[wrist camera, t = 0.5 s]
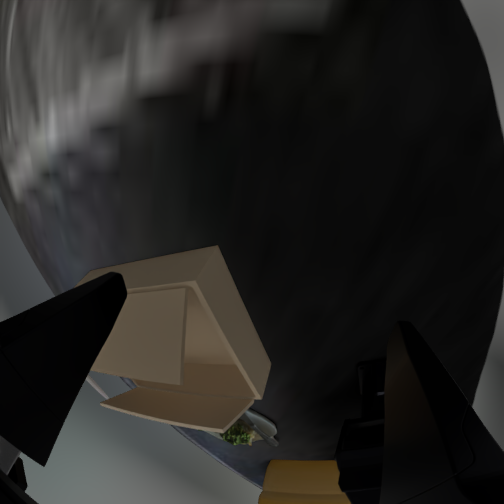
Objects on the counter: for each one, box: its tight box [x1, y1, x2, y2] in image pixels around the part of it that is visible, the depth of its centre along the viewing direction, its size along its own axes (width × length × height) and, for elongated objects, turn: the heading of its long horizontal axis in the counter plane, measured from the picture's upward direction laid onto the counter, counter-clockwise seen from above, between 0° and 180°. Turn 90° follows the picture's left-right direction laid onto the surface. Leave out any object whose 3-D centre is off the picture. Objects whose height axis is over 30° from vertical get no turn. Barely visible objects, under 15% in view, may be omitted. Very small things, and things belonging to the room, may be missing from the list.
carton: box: [74, 245, 271, 399], centre depth 30 cm, size 16×18×5 cm
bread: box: [258, 460, 351, 504], centre depth 45 cm, size 24×13×15 cm, turn 112°
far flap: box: [100, 387, 254, 433], centre depth 28 cm, size 7×17×1 cm
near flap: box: [90, 288, 189, 385], centre depth 23 cm, size 7×17×1 cm
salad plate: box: [198, 395, 278, 446], centre depth 42 cm, size 19×18×5 cm
